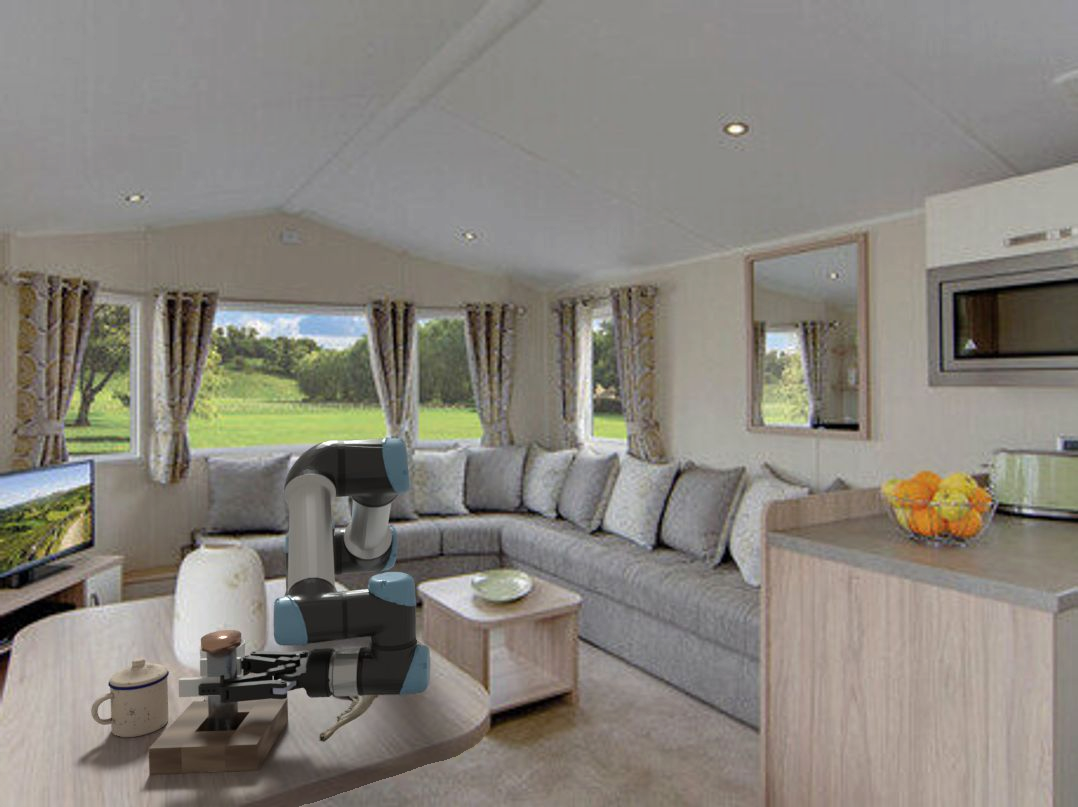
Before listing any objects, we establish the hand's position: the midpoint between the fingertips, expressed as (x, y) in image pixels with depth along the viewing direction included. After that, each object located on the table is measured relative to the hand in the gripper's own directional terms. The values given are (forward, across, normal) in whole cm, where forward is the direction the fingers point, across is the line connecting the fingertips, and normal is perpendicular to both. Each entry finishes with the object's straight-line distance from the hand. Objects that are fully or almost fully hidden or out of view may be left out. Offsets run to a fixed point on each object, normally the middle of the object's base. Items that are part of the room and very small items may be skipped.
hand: (191, 677), depth 117 cm
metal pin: (-5, 0, -12) cm, 13 cm away
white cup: (+2, +19, -12) cm, 22 cm away
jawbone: (-20, +11, -12) cm, 26 cm away
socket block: (-5, 0, -12) cm, 12 cm away
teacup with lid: (+13, +7, -12) cm, 19 cm away
